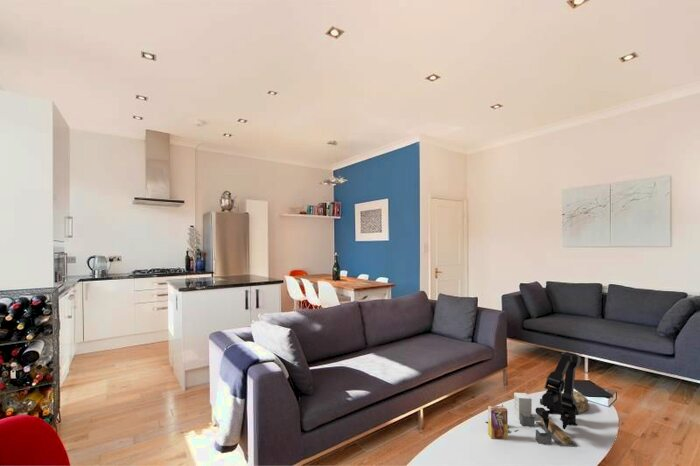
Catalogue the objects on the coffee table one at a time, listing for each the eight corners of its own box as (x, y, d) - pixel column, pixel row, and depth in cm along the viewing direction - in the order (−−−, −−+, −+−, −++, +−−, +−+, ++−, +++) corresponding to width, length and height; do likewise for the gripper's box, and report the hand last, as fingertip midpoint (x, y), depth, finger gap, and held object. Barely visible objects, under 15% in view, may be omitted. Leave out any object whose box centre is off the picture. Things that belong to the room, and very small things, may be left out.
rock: (575, 418, 196) (570, 401, 198) (553, 413, 209) (548, 396, 211) (596, 409, 204) (591, 391, 206) (574, 403, 217) (569, 387, 219)
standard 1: (531, 423, 187) (531, 414, 188) (534, 426, 184) (534, 416, 185) (519, 423, 187) (520, 413, 188) (522, 426, 184) (522, 416, 185)
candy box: (504, 434, 176) (504, 405, 177) (507, 439, 172) (508, 409, 172) (487, 433, 176) (487, 405, 177) (491, 438, 172) (491, 409, 172)
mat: (551, 422, 189) (551, 422, 189) (577, 446, 167) (577, 446, 167) (535, 422, 189) (535, 421, 189) (559, 446, 167) (559, 445, 167)
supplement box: (526, 413, 198) (526, 392, 199) (531, 420, 191) (531, 398, 191) (513, 413, 199) (513, 392, 199) (518, 419, 192) (518, 397, 192)
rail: (547, 423, 188) (547, 416, 188) (570, 444, 168) (570, 437, 168) (541, 422, 188) (541, 416, 188) (564, 444, 168) (564, 437, 168)
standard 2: (548, 440, 171) (548, 430, 172) (551, 444, 168) (551, 433, 169) (535, 440, 172) (535, 429, 172) (538, 443, 168) (538, 433, 169)
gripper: (563, 393, 186) (562, 421, 186) (530, 392, 186) (529, 420, 186) (576, 402, 175) (576, 432, 175) (541, 402, 175) (541, 431, 175)
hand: (555, 428), depth 178 cm, fingers open, 9 cm apart
